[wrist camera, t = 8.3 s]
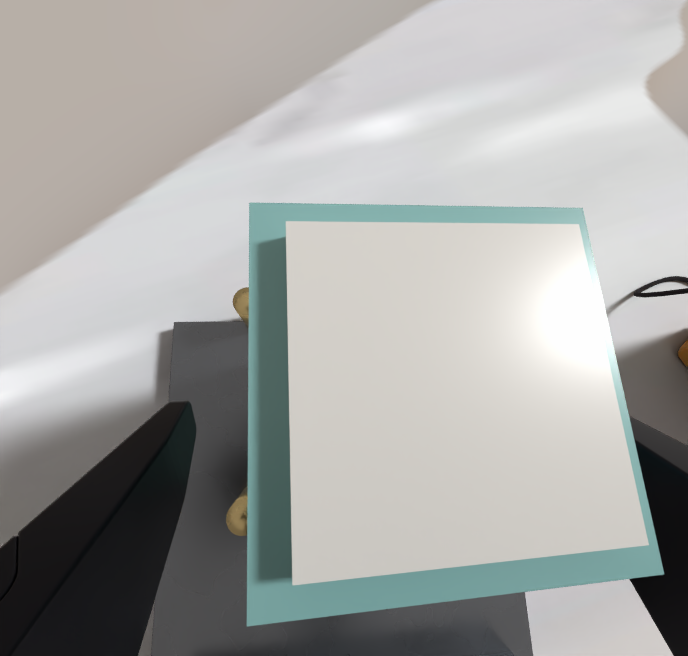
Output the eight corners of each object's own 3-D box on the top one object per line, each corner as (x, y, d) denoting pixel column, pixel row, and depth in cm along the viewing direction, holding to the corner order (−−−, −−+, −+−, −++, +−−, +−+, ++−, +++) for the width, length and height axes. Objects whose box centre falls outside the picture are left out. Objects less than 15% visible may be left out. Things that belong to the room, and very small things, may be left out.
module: (395, 453, 17) (698, 589, 4) (289, 460, 16) (240, 651, 3) (387, 349, 18) (604, 192, 5) (287, 352, 17) (244, 184, 4)
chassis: (521, 659, 16) (589, 735, 13) (156, 707, 15) (103, 815, 11) (477, 311, 20) (519, 287, 16) (181, 313, 18) (149, 287, 14)
